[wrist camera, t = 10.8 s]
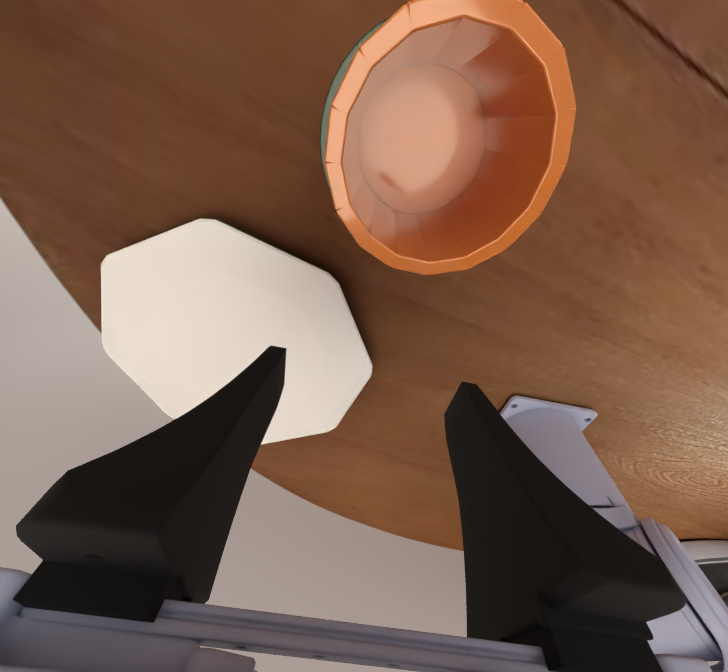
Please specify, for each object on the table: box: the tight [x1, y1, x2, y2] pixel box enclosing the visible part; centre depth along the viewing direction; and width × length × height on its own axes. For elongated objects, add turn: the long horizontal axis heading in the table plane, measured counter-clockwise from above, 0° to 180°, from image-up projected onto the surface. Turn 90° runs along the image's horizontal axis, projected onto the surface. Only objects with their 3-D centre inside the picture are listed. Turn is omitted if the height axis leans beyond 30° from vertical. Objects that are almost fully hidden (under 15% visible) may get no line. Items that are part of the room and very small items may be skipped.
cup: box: [324, 0, 576, 275], centre depth 9 cm, size 5×5×6 cm
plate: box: [101, 218, 373, 444], centre depth 24 cm, size 20×20×2 cm
